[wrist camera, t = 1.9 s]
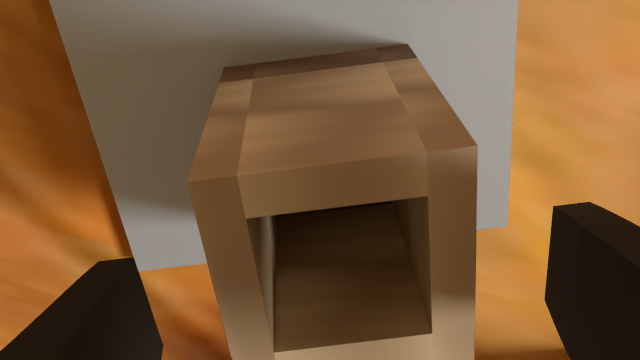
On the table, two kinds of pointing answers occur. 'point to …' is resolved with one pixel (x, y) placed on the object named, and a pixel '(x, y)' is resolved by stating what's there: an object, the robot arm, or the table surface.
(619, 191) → the table surface
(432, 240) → the sleeve
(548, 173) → the table surface
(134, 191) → the board
